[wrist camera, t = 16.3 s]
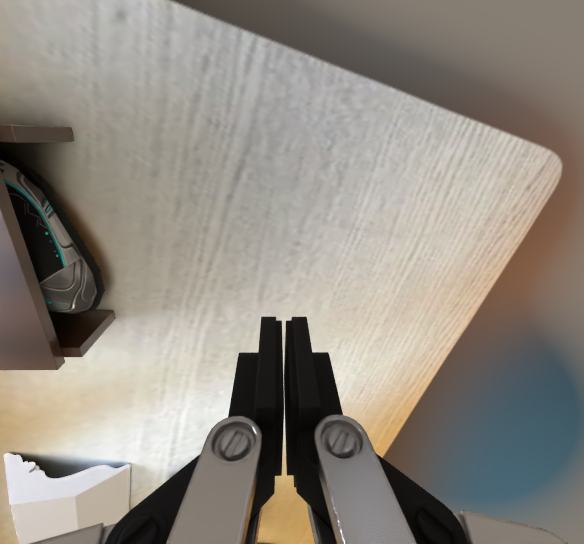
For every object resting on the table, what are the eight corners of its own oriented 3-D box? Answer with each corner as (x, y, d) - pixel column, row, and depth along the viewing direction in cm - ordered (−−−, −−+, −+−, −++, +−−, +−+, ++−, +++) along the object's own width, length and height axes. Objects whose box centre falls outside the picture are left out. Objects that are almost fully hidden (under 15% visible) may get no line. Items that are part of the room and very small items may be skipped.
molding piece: (109, 529, 59) (126, 582, 53) (31, 579, 51) (41, 649, 45) (107, 412, 46) (130, 466, 40) (3, 454, 38) (12, 529, 32)
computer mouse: (-14, 109, 23) (-99, 101, 18) (139, 277, 29) (111, 308, 24) (-88, 169, 24) (-186, 179, 19) (74, 317, 31) (33, 354, 26)
